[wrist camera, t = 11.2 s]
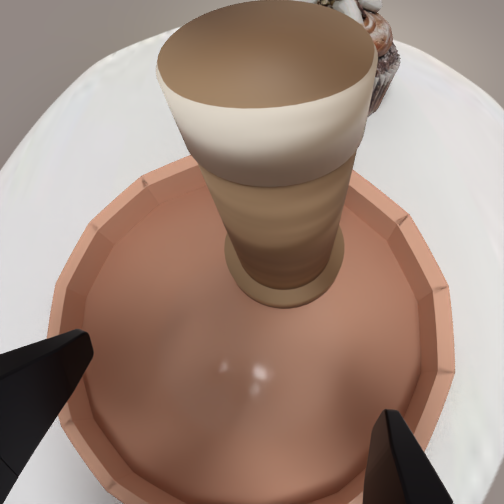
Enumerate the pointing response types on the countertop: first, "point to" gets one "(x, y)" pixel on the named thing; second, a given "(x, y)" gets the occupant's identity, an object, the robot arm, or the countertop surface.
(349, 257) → the tray
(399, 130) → the countertop surface
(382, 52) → the cupcake
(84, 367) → the robot arm
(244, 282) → the tan flared cylinder
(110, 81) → the countertop surface
